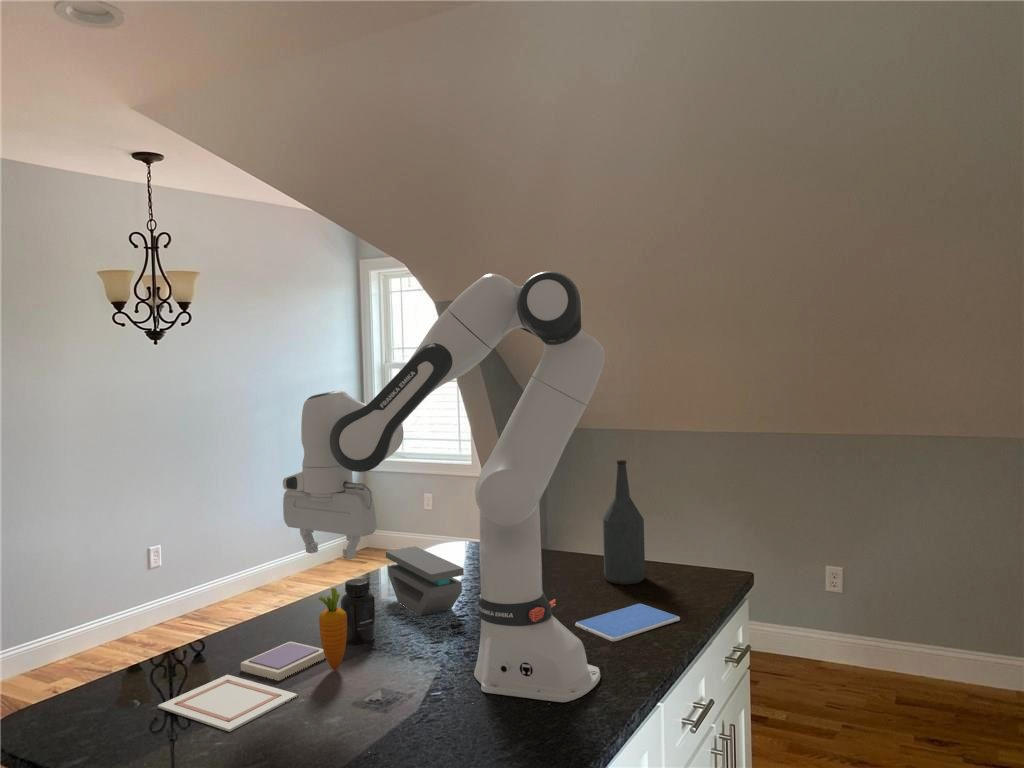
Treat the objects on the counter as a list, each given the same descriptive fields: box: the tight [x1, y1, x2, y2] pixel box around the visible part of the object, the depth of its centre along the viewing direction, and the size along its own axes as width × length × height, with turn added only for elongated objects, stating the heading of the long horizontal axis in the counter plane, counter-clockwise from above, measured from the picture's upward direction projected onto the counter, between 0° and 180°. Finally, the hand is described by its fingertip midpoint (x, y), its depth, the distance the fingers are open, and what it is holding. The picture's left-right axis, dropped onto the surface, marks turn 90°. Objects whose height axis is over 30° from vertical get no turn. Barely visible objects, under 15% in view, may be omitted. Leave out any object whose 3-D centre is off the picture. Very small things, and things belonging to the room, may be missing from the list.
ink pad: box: [240, 641, 326, 682], centre depth 146 cm, size 10×12×2 cm
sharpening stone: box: [385, 545, 465, 617], centre depth 178 cm, size 25×8×11 cm, turn 32°
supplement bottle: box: [340, 578, 376, 646], centre depth 157 cm, size 7×7×12 cm
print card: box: [157, 674, 299, 732], centre depth 130 cm, size 18×14×1 cm
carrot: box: [318, 587, 347, 672], centre depth 142 cm, size 5×5×15 cm
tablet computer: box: [574, 603, 681, 642], centre depth 162 cm, size 19×13×1 cm, turn 125°
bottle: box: [602, 459, 646, 585], centre depth 193 cm, size 10×10×30 cm
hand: (330, 555), depth 141 cm, fingers open, 8 cm apart
